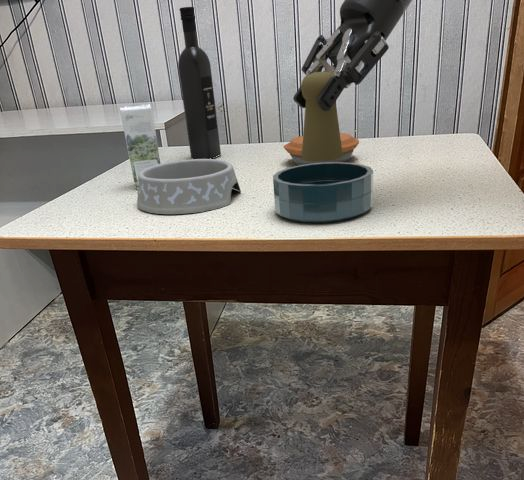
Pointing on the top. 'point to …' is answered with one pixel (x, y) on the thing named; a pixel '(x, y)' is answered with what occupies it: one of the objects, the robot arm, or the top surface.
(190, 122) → the wine bottle
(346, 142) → the pie
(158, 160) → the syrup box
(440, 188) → the top surface
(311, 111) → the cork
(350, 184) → the bowl
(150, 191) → the dog bowl
